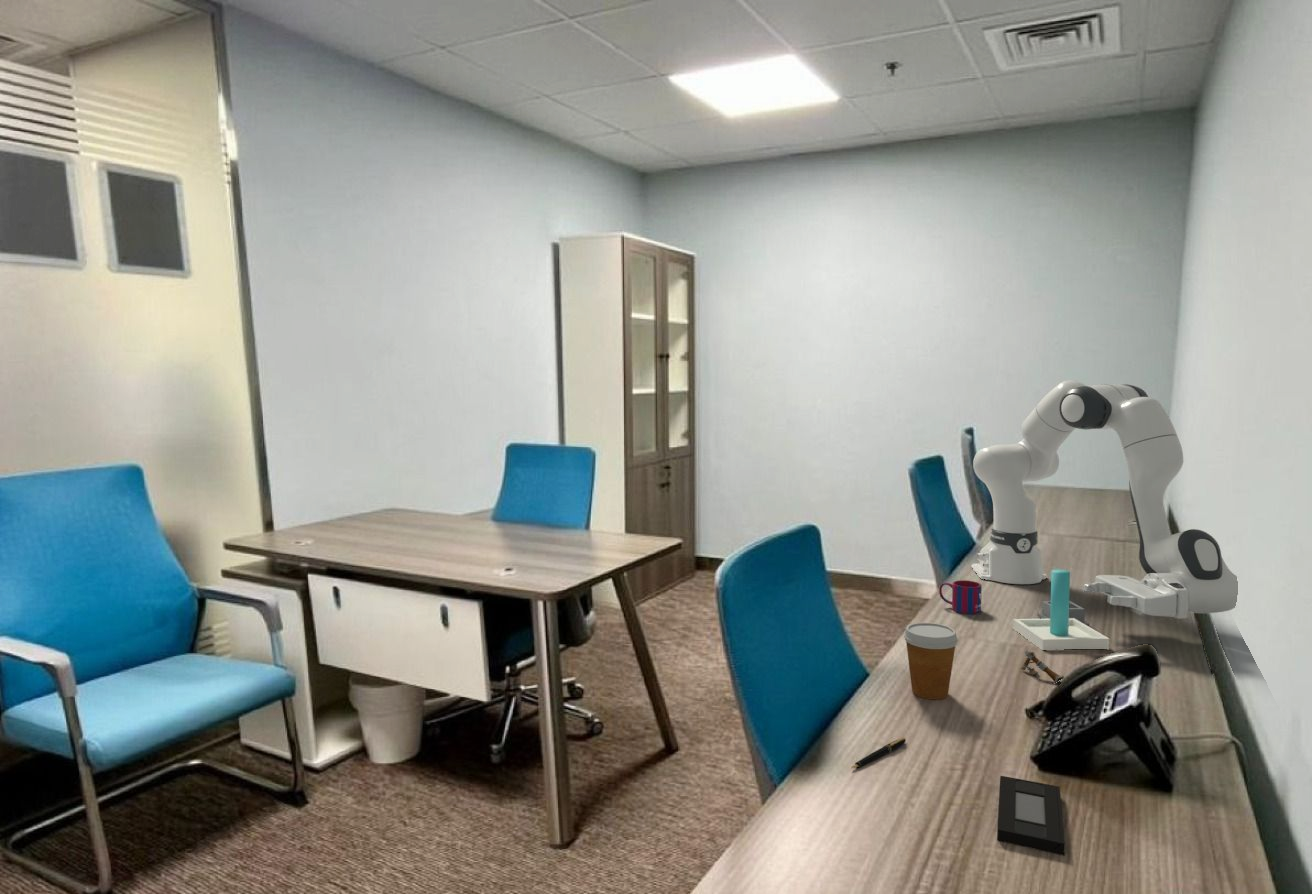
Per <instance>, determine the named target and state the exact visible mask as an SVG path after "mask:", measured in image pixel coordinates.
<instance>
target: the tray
mask: <svg viewBox="0 0 1312 894" xmlns="http://www.w3.org/2000/svg"><path fill="white" fill-rule="evenodd" d="M1013 629H1014V630H1013ZM1012 630H1013V631H1015V632H1016V631H1017V632H1018V633H1017V632H1016V633H1017V634H1019V633H1020V634H1021V635H1020V634H1019V635H1020V636H1021V637H1023V636H1024V637H1025V638H1024V637H1023V638H1024V639H1026V640H1027V639H1028V640H1027V641H1029V642H1030V643H1031V642H1032V643H1031V644H1033V645H1034V646H1036V648H1038V647H1039V648H1038V649H1039V650H1041V649H1042V650H1047V651H1056V650H1055V649H1058V650H1057V651H1065V650H1064V649H1107V650H1108V651H1109V650H1110V638H1109V637H1107V636H1106V635H1104V634H1102V633H1100V632H1099V631H1097V630H1096V629H1094V628H1092V627H1090V625H1089V626H1087V625H1085V624H1083V623H1082V622H1080V621H1078V620H1076V619H1075V618H1069V628H1068V636H1056V635H1052V634H1051V633H1050V619H1040V618H1013V619H1012ZM1042 650H1041V651H1042Z"/></svg>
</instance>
